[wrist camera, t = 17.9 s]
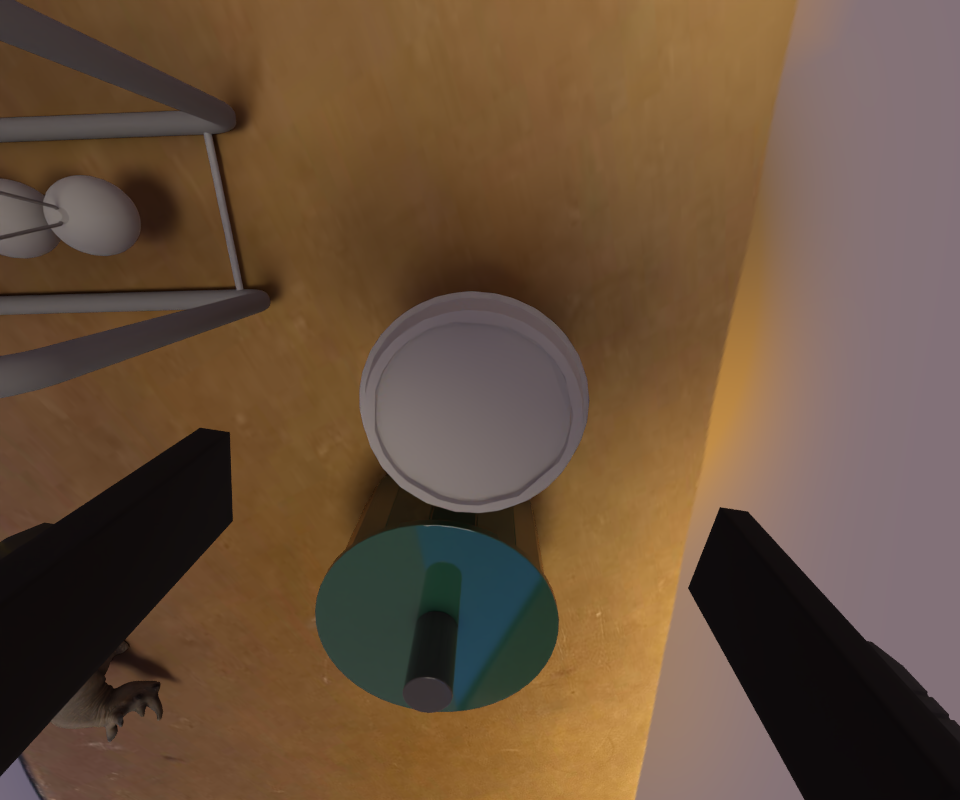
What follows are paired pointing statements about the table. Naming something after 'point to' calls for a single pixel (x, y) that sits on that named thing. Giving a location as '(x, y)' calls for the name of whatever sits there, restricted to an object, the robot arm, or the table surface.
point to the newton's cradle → (103, 209)
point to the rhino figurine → (108, 701)
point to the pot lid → (437, 616)
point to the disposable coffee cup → (473, 401)
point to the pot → (446, 517)
